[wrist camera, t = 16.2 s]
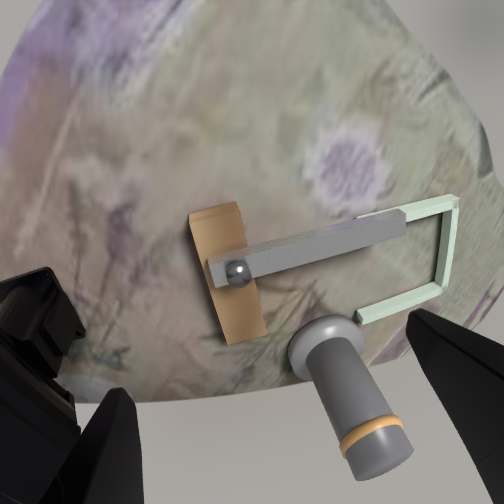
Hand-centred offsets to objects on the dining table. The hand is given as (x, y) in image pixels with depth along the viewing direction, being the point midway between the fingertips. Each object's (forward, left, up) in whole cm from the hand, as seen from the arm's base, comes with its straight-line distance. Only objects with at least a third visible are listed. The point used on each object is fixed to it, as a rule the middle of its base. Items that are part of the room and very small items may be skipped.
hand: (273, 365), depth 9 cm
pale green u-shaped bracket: (+14, -8, -13) cm, 21 cm away
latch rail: (-1, -5, -13) cm, 14 cm away
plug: (+6, -15, -13) cm, 21 cm away
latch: (+5, -3, -11) cm, 12 cm away
